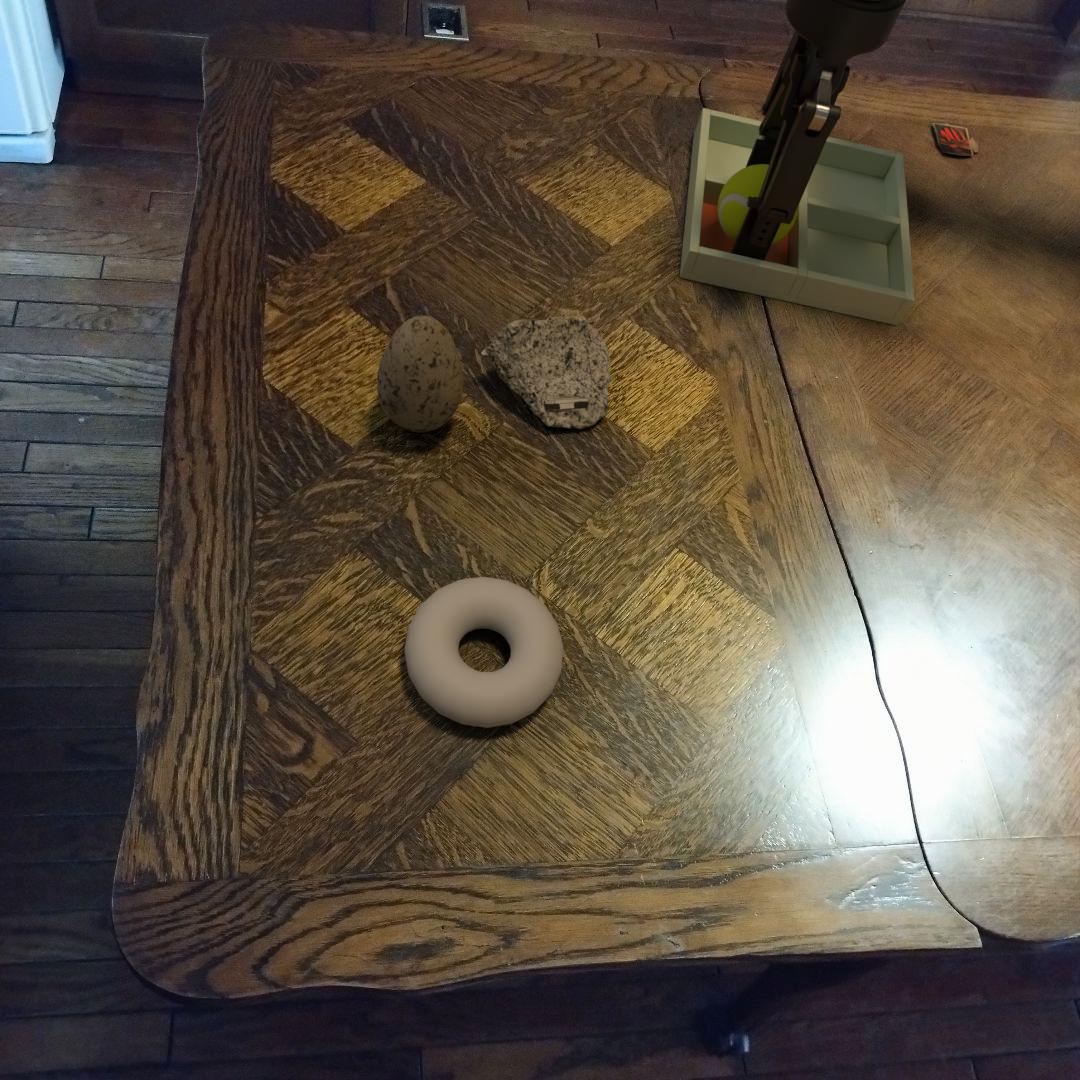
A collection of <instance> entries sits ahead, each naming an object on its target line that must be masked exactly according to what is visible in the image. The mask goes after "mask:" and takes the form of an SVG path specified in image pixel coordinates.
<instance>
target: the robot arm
mask: <svg viewBox="0 0 1080 1080" xmlns="http://www.w3.org/2000/svg"><path fill="white" fill-rule="evenodd" d="M906 2H907V0H786V2H785V15H786V18H787V21H788V22H789V24H790V26H791V27H792V28H793V29H794V32H793V34H792V36H791V39H790V41H789V43H788V46H787V49H786V51H785V53H784V55H783V58H782V60H781V63H780V65H779V68H778V70H777V72H776V75H775V77H774V80H773V82H772V85H771V87H770V89H769V91H768V94H767V97H766V99H765V102H764V103H763V104H762V107H761V115H762V116H764V117H763V120H762V122H761V124H760V126H759V135H760V136H763V137H762V139H756V142H755V144H754V147H753V149H752V152H751V155H750V157H749V160H748V162H747V165H746V167H748V166H751V165H757V164H766V165H769V167H768V170H767V173H766V176H765V179H764V182H763V185H762V188H761V191H760V194H759V197H750V196H749V197H748V200H747V207H750V208H749V210H748V213H747V215H746V218H745V220H744V222H743V225H742V227H741V230H740V232H739V234H738V237H737V239H736V242H735V244H734V246H733V249H732V251H731V253H732V254H737V255H741V256H746V257H750V258H755V259H759V260H763V261H764V259H765V257H766V255H767V253H768V251H769V249H770V246H771V244H772V242H773V240H774V238H775V235H776V233H777V231H778V229H779V227H780V225H781V223H785V224H790V223H791V221H792V220H793V218H794V214H795V212H796V210H797V207H798V205H799V203H800V201H801V198H802V196H803V194H804V191H805V189H806V187H807V184H808V182H809V180H810V177H811V175H812V173H813V171H814V168H815V166H816V164H817V161H818V159H819V157H820V154H821V152H822V150H823V147H824V145H825V143H826V141H827V138H828V137H830V135H831V133H832V132H833V130H834V128H835V126H836V125H837V124H838V121H839V120H840V118H841V116H842V113H841V112H842V109H841V108H842V107H841V106H839V105H835V104H836V102H837V99H838V96H839V94H840V93H842V92H843V91H844V89H845V86H846V84H847V81H848V78H849V76H850V72H851V65H847V63H848V61H849V60H850V59H852V58H854V57H858V56H860V55H865V54H870V53H873V52H875V51H877V50H878V49H881V47H882V46H883V45H885V44H886V42H887V41H888V40H889V37H890V35H891V33H892V32H893V28H894V27H895V25H896V23H897V20H898V18H899V16H900V14H901V12H902V10H903V8H904V6H905V3H906ZM746 167H745V168H746Z"/></svg>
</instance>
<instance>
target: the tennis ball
mask: <svg viewBox="0 0 1080 1080" xmlns="http://www.w3.org/2000/svg"><path fill="white" fill-rule="evenodd" d="M768 167H769V165H766V164H757V165H751V166H748V167H746V168H743V169H741V170H739V171H738V172H737V173H735V174H734V175H733V176H731V178H730V179H729V180H728V181H727V182H726V184H725V185H724V187H723V189H722V191H721V193H720V196H719V200H718V218H719V222H720V225H721V227H722V229H723V231H724V232H725V233H726V235H727V236H728V237H729V238H730V239H731V240H733V241H734V242H736V239H737V237H738V234H739V232H740V230H741V227H742V225H743V222H744V220H745V218H746V215H747V213H748V210H749V208H750V207H747V200H748V197H749V196H750V197H759V194H760V191H761V188H762V185H763V182H764V179H765V176H766V173H767V170H768ZM798 211H799V205H798V207H797V210H796V212H795V214H794V218H793V220H792V221H791V223H790V224H785V223H781V225H780V227H779V229H778V231H777V233H776V235H775V238H774V240H773V242H772V244H774V243H776V242H778V241H780V240H781V239H782V238H783V237H784V236H785V235H786V234H787V233H788V232H789V231H790V230H791V228H792V226H793V225H794V223H795V221H796V218H797V215H798Z"/></svg>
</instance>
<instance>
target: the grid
mask: <svg viewBox="0 0 1080 1080" xmlns="http://www.w3.org/2000/svg"><path fill="white" fill-rule="evenodd" d="M762 121H763V120H762ZM762 121H761V120H757V119H753V118H749V117H744V116H740V115H736V114H733V113H727V112H723V111H718V110H715V109H714V110H713V109H710V108H706V107H702V109H701V112H700V116H699V118H698V121H697V124H696V127H695V130H694V133H693V138H692V150H691V157H690V158H691V159H690V168H689V180H688V189H687V197H686V209H685V219H684V230H683V238H682V247H681V248H682V250H681V259H680V268H679V278H680V279H684V280H689V281H693V282H699V283H702V284H708V285H710V286H711V285H712V286H715V287H720V288H725V289H730V290H734V291H737V292H738V291H739V292H744V293H748V294H752V295H756V296H761V297H767V298H771V299H775V300H779V301H783V302H788V303H793V304H797V305H803V306H806V307H812V308H816V309H820V310H824V311H825V310H826V311H829V312H833V313H839V314H842V315H848V316H851V317H856V318H861V319H865V320H870V321H875V322H878V323H879V322H880V323H884V324H888V325H893V326H897V327H898V326H899V325H900V323H902V321H903V319H904V317H905V316H906V314H907V313H908V311H909V310H910V309H911V307H912V305H913V304H914V303H915V299H916V298H915V287H914V274H913V273H914V272H913V261H912V260H913V259H912V250H911V249H912V247H911V236H910V223H909V210H908V198H907V186H906V185H907V184H906V172H905V162H904V153H901V152H898V151H892V150H887V149H883V148H880V147H876V146H871V145H866V144H861V143H858V142H854V141H848V140H845V139H840V138H837V137H836V138H835V137H832V136H829V137H828V138H827V141H826V143H825V145H824V147H823V150H822V152H821V154H820V157H819V159H818V161H817V164H816V166H815V168H814V171H813V173H812V175H811V177H810V180H809V182H808V184H807V187H806V189H805V191H804V194H803V196H802V198H801V201H800V203H799V211H798V215H797V218H796V221H795V223H794V225H793V226H792V228H791V230H790V231H789V232H788V233H787V234H786V235H785V236H784V237H783V238H782V239H781V240H780V241H778V242H776V243H774V244H771V246H770V249H769V251H768V253H767V255H766V257H765V259H764V261H763V260H759V259H755V258H750V257H746V256H741V255H737V254H732V253H731V251H732V249H733V246H734V244H735V242H734V241H733V240H731V239H730V238H729V237H728V236H727V235H726V233H725V232H724V231H723V229H722V227H721V225H720V222H719V218H718V200H719V196H720V193H721V191H722V189H723V187H724V185H725V184H726V182H727V181H728V180H729V179H730V178H731V176H733V175H734V174H735V173H737V172H738V171H739V170H741V169H743V168H745V167H746V165H747V162H748V160H749V157H750V155H751V152H752V149H753V147H754V144H755V142H756V139H762V137H763V136H760V135H759V126H760V124H761V122H762Z"/></svg>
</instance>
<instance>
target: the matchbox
mask: <svg viewBox="0 0 1080 1080" xmlns="http://www.w3.org/2000/svg"><path fill="white" fill-rule="evenodd" d="M929 126H932V127H933V129H934V133H935V136H936V138H934V139H935V141H937V144H938V145H939V147H940V149H941V150H942V152H943V153H945V154H950V155H956V156H964V157H967V156H974V153H976V154H977V153H979V152H980V149H981V147H980V145H979V143H977V141H976V140H975V139H974V137H971V136H970V135H969V129H968V127H964V126H959V125H952V124H949V123H948V122H945V123H939V122H933V123H932V122H930V123H929Z"/></svg>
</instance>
